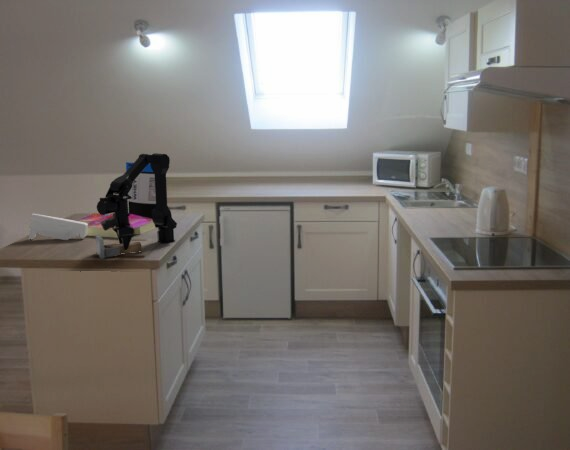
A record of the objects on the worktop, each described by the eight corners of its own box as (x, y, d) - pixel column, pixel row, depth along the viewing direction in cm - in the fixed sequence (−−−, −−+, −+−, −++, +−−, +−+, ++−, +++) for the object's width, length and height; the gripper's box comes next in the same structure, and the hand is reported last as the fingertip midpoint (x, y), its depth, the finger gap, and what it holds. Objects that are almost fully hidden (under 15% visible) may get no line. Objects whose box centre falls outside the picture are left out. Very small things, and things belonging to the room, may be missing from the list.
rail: (107, 256, 260) (107, 247, 259) (106, 254, 263) (105, 245, 262) (141, 253, 265) (141, 243, 265) (139, 250, 269) (139, 241, 268)
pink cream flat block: (61, 234, 300) (59, 213, 298) (92, 224, 324) (91, 204, 322) (130, 240, 289) (129, 218, 287) (158, 228, 313) (157, 208, 310)
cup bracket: (116, 251, 268) (114, 232, 266) (120, 256, 259) (119, 237, 257) (96, 253, 264) (95, 234, 263) (100, 258, 255) (99, 239, 254)
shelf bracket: (31, 238, 292) (34, 212, 290) (85, 248, 294) (88, 222, 292) (27, 241, 287) (30, 214, 284) (82, 251, 289) (85, 225, 286)
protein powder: (162, 223, 324) (159, 165, 317) (123, 219, 333) (120, 163, 326) (172, 219, 332) (170, 163, 326) (134, 216, 341) (131, 161, 335)
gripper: (97, 208, 265) (100, 244, 269) (105, 216, 249) (107, 254, 252) (124, 206, 270) (126, 241, 273) (133, 214, 253) (135, 251, 257)
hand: (123, 247), depth 264 cm, fingers open, 9 cm apart
